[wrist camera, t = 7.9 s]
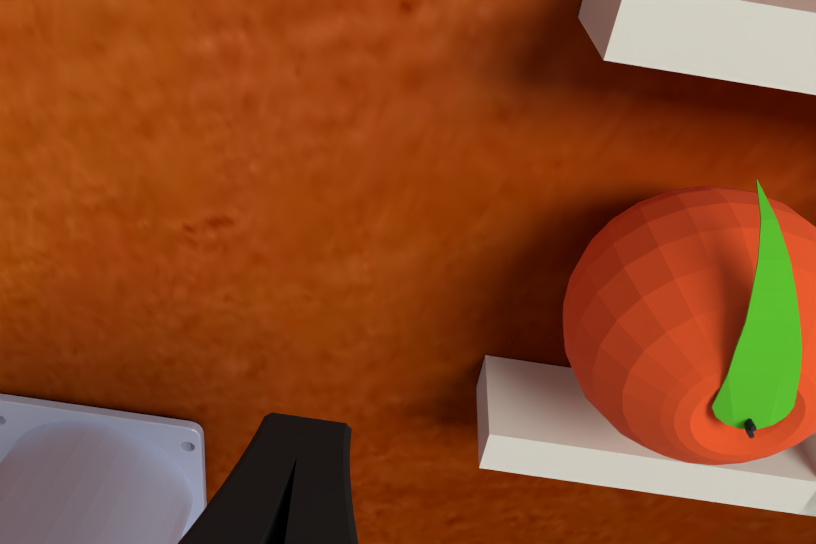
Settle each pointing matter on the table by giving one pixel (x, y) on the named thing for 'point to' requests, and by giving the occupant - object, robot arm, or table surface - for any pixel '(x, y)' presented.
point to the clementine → (699, 325)
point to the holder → (558, 386)
